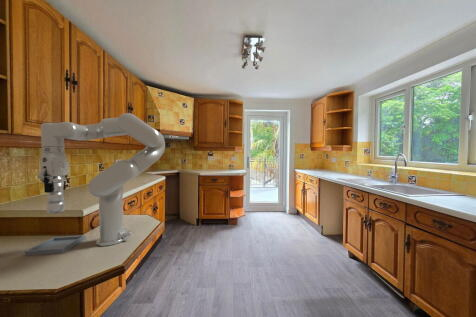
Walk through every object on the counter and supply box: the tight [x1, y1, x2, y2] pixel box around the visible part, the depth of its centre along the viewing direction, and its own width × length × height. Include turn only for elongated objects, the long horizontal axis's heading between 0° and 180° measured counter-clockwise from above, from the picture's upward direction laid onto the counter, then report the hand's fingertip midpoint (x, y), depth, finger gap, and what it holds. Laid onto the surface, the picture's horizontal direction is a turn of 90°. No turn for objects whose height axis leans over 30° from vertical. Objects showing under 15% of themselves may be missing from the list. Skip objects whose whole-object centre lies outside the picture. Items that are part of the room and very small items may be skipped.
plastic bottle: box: [46, 175, 67, 214], centre depth 91 cm, size 6×7×20 cm
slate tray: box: [23, 235, 87, 257], centre depth 91 cm, size 15×15×2 cm
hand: (55, 190), depth 91 cm, fingers closed on plastic bottle, 6 cm apart
